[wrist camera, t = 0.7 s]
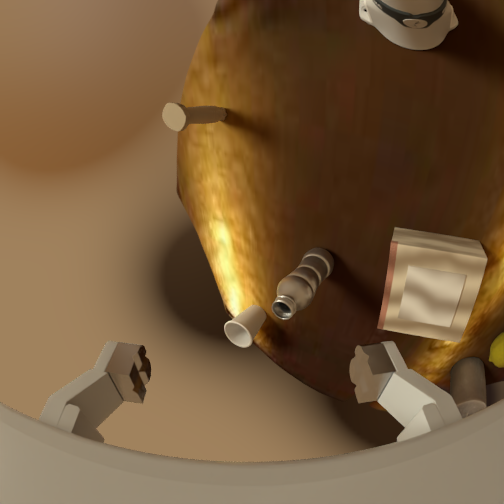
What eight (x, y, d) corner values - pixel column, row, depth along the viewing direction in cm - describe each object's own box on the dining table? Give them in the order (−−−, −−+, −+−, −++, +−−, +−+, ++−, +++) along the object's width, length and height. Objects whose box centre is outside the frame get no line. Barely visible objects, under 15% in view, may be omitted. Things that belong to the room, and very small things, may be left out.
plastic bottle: (331, 276, 60) (295, 333, 45) (304, 264, 63) (260, 314, 47) (340, 252, 57) (306, 305, 42) (311, 239, 59) (267, 286, 44)
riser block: (394, 227, 49) (390, 243, 42) (479, 240, 40) (488, 259, 33) (383, 305, 56) (376, 329, 50) (457, 318, 47) (459, 343, 41)
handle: (226, 130, 59) (179, 136, 47) (208, 115, 59) (159, 119, 48) (236, 112, 56) (189, 114, 44) (217, 98, 56) (168, 98, 45)
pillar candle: (443, 372, 53) (439, 421, 41) (470, 350, 47) (471, 400, 36) (464, 386, 50) (462, 433, 39) (491, 366, 45) (494, 414, 33)
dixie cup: (240, 301, 78) (219, 321, 71) (264, 300, 73) (244, 322, 66) (250, 325, 81) (231, 346, 73) (274, 326, 76) (256, 349, 68)
